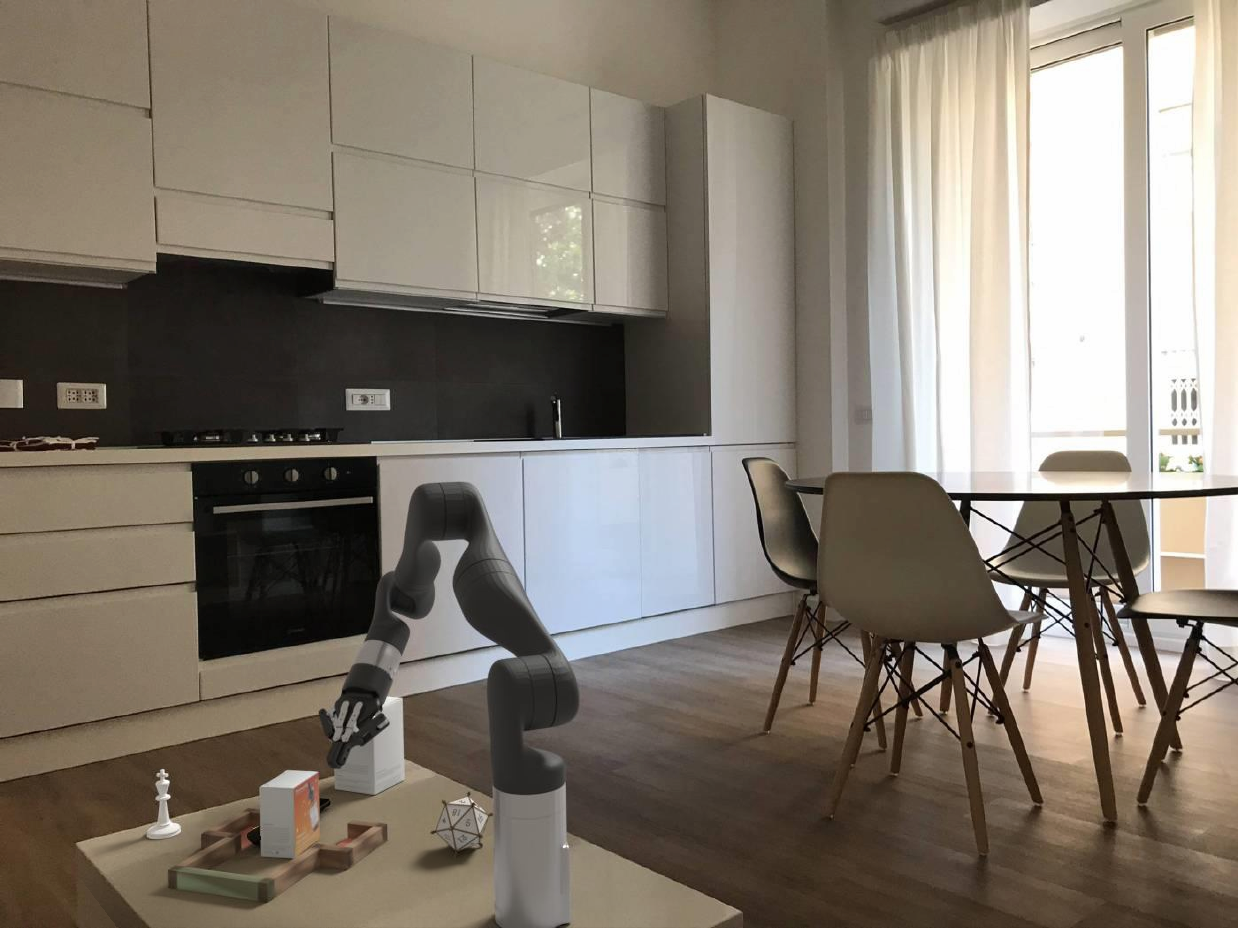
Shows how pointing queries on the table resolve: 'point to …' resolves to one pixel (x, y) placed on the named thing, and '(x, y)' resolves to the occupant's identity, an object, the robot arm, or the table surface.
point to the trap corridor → (233, 840)
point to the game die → (462, 823)
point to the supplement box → (376, 756)
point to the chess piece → (163, 813)
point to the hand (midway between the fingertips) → (333, 766)
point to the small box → (289, 814)
